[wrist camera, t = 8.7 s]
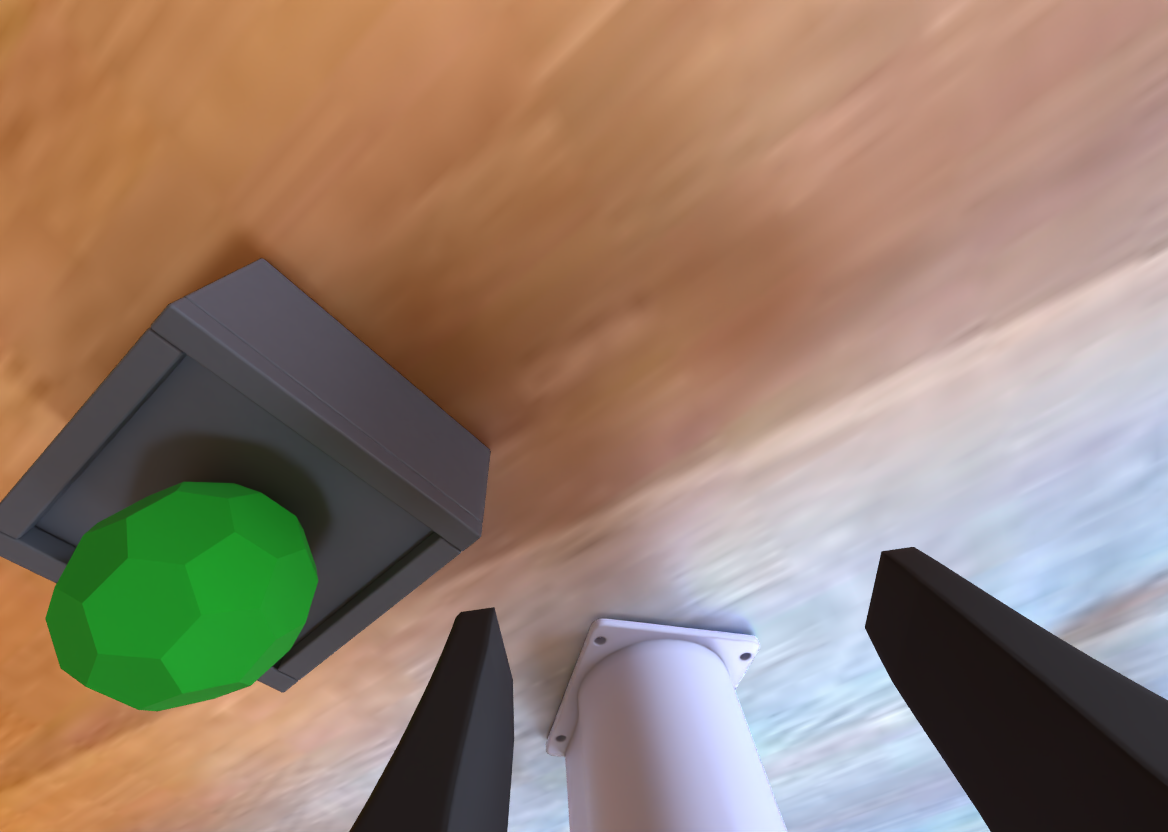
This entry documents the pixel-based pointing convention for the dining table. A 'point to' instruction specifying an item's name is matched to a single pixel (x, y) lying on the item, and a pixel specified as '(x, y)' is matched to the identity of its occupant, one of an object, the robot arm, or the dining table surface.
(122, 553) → the polyhedron
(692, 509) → the dining table surface
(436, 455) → the grey box
